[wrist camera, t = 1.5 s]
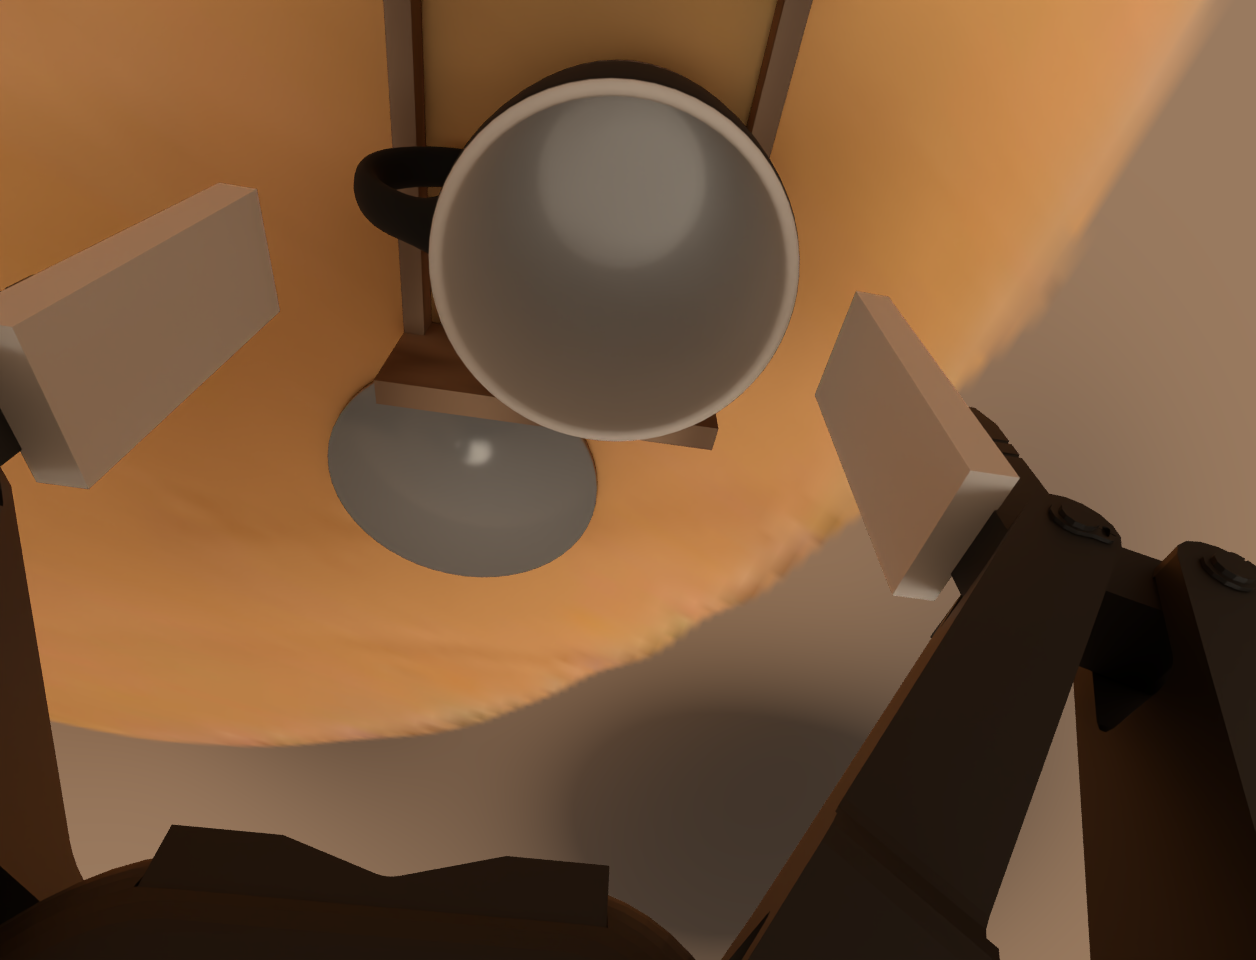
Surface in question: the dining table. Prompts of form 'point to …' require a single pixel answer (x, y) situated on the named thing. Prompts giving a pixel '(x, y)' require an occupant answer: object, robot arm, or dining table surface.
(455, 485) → the coaster
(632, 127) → the mug
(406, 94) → the frame
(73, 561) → the dining table surface
